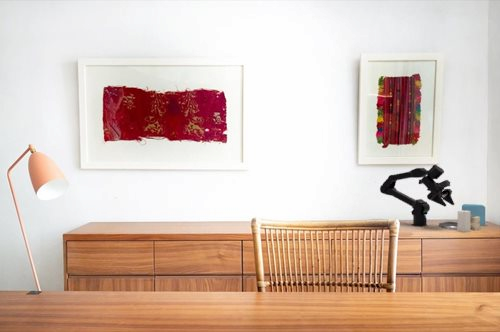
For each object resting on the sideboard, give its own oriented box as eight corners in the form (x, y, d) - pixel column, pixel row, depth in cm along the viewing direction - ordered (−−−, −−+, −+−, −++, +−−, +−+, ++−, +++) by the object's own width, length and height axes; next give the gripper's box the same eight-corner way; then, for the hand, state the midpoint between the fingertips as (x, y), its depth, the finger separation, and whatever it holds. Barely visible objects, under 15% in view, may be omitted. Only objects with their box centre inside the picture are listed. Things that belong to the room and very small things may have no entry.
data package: (483, 224, 254) (483, 204, 253) (485, 225, 249) (485, 205, 249) (461, 223, 257) (461, 204, 257) (462, 224, 253) (462, 204, 253)
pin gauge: (441, 225, 244) (441, 228, 244) (440, 224, 243) (439, 227, 243) (459, 227, 236) (458, 230, 236) (457, 226, 235) (457, 229, 235)
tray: (439, 226, 245) (439, 223, 245) (448, 225, 252) (448, 221, 252) (458, 229, 237) (458, 225, 237) (467, 227, 243) (467, 223, 243)
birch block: (463, 228, 239) (464, 216, 238) (468, 227, 242) (468, 215, 242) (474, 230, 234) (475, 217, 234) (479, 229, 238) (479, 216, 237)
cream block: (457, 231, 231) (457, 210, 231) (461, 230, 234) (462, 210, 234) (465, 232, 228) (466, 211, 228) (470, 231, 231) (470, 210, 231)
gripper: (432, 175, 235) (451, 197, 227) (448, 174, 247) (468, 195, 238) (418, 189, 242) (437, 210, 233) (435, 187, 253) (454, 207, 245)
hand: (449, 205), depth 237 cm, fingers open, 9 cm apart
